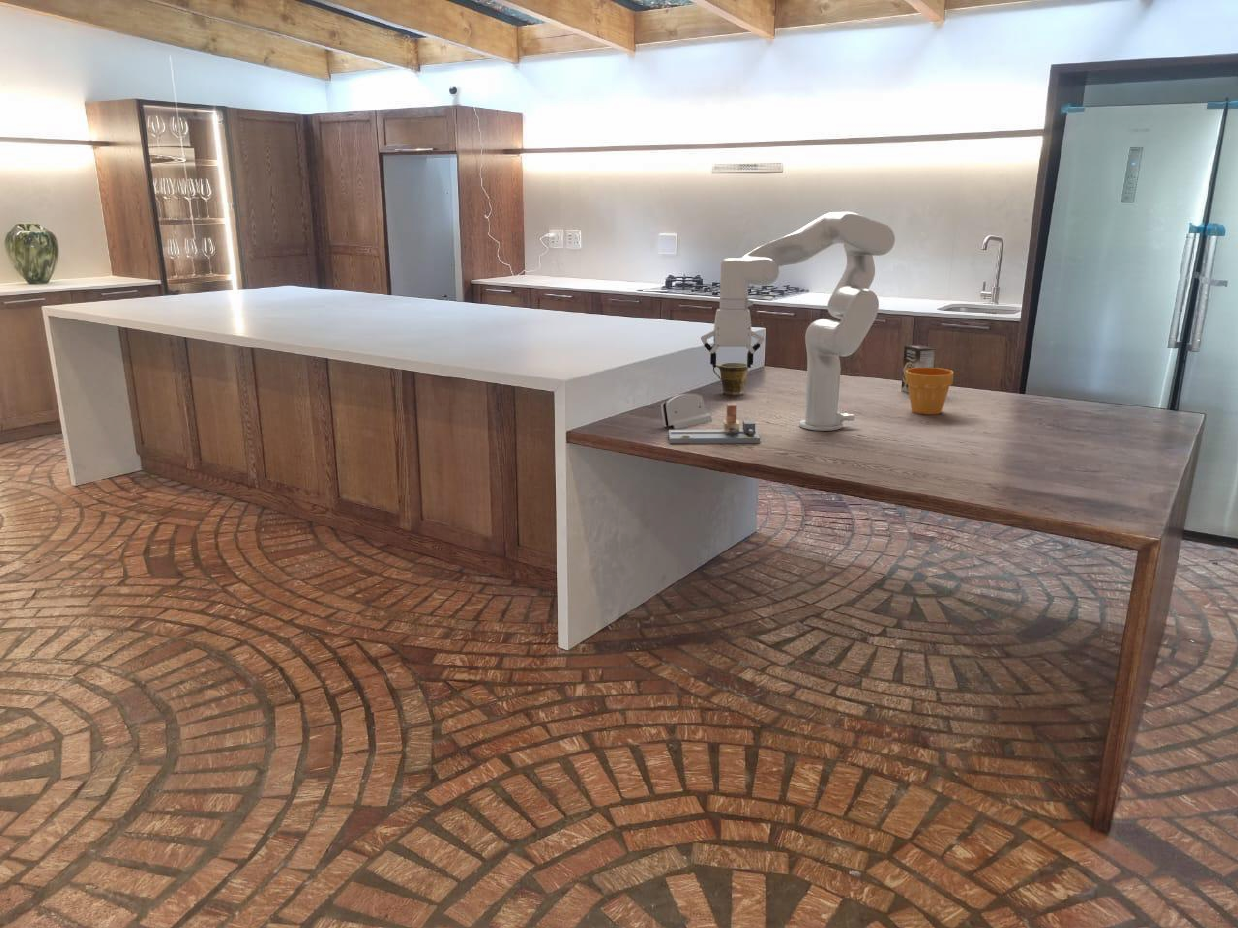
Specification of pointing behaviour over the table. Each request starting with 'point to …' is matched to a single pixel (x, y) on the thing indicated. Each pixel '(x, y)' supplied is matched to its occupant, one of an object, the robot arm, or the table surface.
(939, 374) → the flower pot
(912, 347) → the coffee box
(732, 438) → the gauge board
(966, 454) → the table surface
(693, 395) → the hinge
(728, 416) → the block
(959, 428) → the table surface
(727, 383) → the ceramic cup
